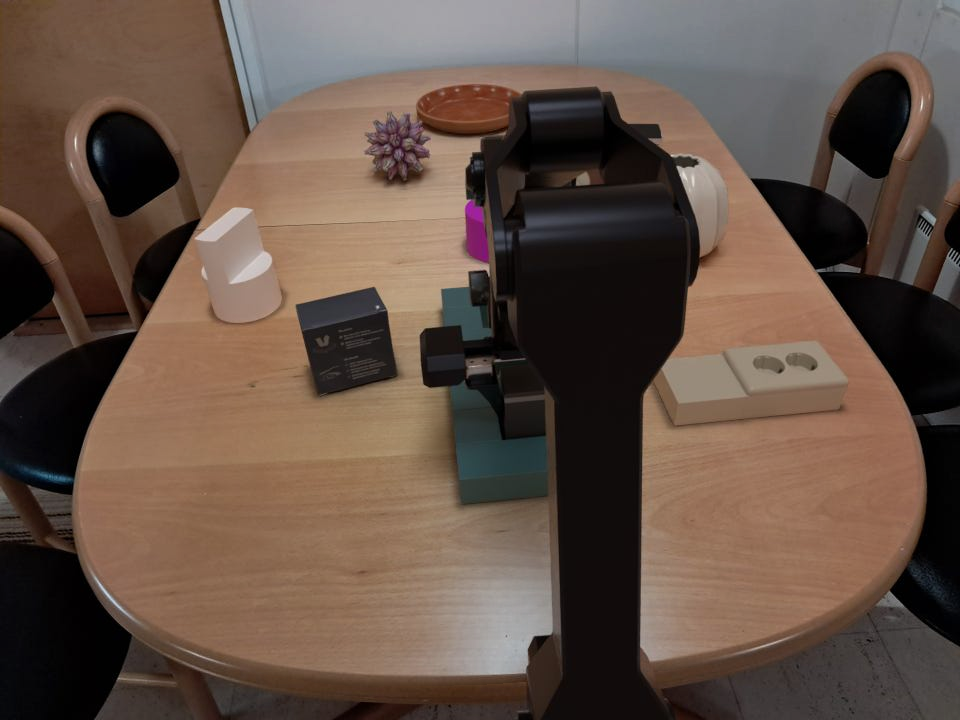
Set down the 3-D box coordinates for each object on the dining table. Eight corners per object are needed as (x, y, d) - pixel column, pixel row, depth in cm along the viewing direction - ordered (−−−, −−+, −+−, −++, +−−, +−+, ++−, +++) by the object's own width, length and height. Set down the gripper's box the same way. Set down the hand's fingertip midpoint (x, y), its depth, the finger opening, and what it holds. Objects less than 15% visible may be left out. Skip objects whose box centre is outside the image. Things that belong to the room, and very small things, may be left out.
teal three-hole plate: (605, 489, 66) (608, 464, 64) (461, 504, 65) (459, 479, 63) (547, 302, 91) (547, 279, 89) (442, 311, 91) (440, 288, 88)
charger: (546, 443, 68) (548, 390, 64) (505, 448, 68) (504, 394, 64) (539, 415, 71) (540, 362, 67) (500, 419, 71) (499, 366, 67)
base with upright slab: (260, 327, 89) (236, 245, 82) (200, 317, 92) (171, 237, 84) (294, 290, 96) (274, 211, 88) (238, 282, 98) (214, 204, 91)
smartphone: (663, 138, 131) (583, 138, 132) (662, 144, 132) (583, 144, 133) (658, 123, 137) (582, 123, 138) (657, 129, 138) (581, 129, 139)
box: (386, 350, 84) (376, 284, 79) (398, 377, 80) (388, 309, 74) (310, 369, 82) (293, 302, 76) (318, 397, 78) (301, 329, 72)
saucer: (547, 113, 147) (547, 95, 144) (476, 147, 134) (475, 128, 131) (467, 94, 159) (466, 77, 157) (395, 123, 146) (392, 105, 144)
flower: (441, 178, 127) (412, 192, 117) (383, 167, 130) (350, 180, 120) (444, 112, 121) (414, 121, 112) (384, 103, 125) (349, 111, 115)
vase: (642, 219, 108) (652, 135, 100) (732, 239, 102) (750, 151, 94) (607, 259, 99) (615, 170, 91) (704, 283, 93) (722, 190, 85)
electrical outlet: (658, 353, 75) (818, 338, 76) (653, 381, 78) (808, 366, 79) (679, 396, 70) (851, 379, 71) (674, 425, 72) (840, 409, 73)
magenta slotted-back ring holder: (533, 263, 99) (533, 223, 95) (464, 263, 100) (462, 224, 96) (533, 211, 112) (533, 175, 108) (472, 212, 112) (470, 175, 108)
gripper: (608, 227, 65) (597, 357, 75) (411, 244, 64) (426, 373, 74) (641, 291, 57) (624, 428, 66) (414, 311, 56) (430, 447, 65)
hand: (523, 415), depth 68 cm, fingers closed on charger, 4 cm apart
